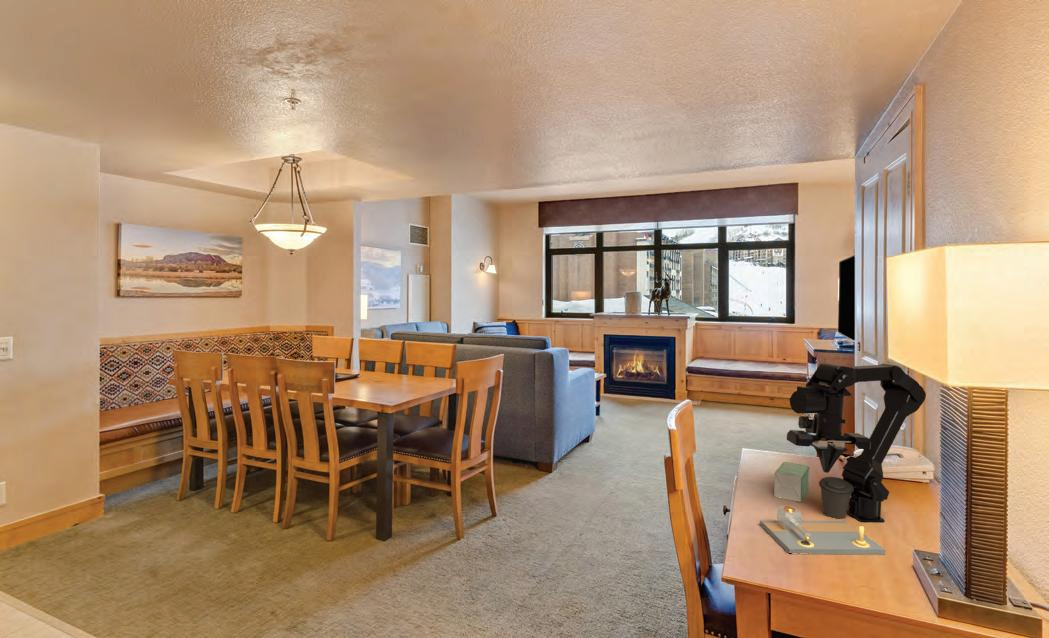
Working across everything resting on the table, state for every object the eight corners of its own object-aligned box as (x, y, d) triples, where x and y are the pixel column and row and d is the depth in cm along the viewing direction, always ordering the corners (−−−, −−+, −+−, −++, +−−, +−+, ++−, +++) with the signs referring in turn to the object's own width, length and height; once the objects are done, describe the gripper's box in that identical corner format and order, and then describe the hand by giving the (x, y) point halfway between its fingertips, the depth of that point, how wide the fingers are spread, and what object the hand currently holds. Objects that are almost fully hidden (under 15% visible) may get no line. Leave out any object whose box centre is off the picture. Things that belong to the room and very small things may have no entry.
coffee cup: (810, 512, 145) (812, 479, 142) (829, 502, 148) (831, 470, 145) (839, 528, 137) (841, 494, 135) (858, 517, 141) (861, 484, 138)
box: (808, 488, 161) (809, 464, 161) (801, 503, 150) (802, 477, 150) (782, 483, 166) (783, 460, 165) (773, 497, 155) (774, 472, 154)
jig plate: (844, 525, 136) (845, 504, 136) (884, 554, 121) (886, 531, 121) (759, 524, 136) (760, 504, 136) (789, 554, 121) (790, 531, 121)
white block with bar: (792, 523, 134) (793, 504, 134) (816, 544, 123) (817, 524, 123) (776, 523, 134) (777, 504, 134) (799, 544, 123) (800, 524, 123)
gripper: (848, 407, 144) (844, 464, 145) (779, 404, 144) (775, 460, 145) (874, 417, 133) (869, 478, 133) (798, 413, 133) (794, 474, 134)
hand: (825, 472), depth 137 cm, fingers closed
